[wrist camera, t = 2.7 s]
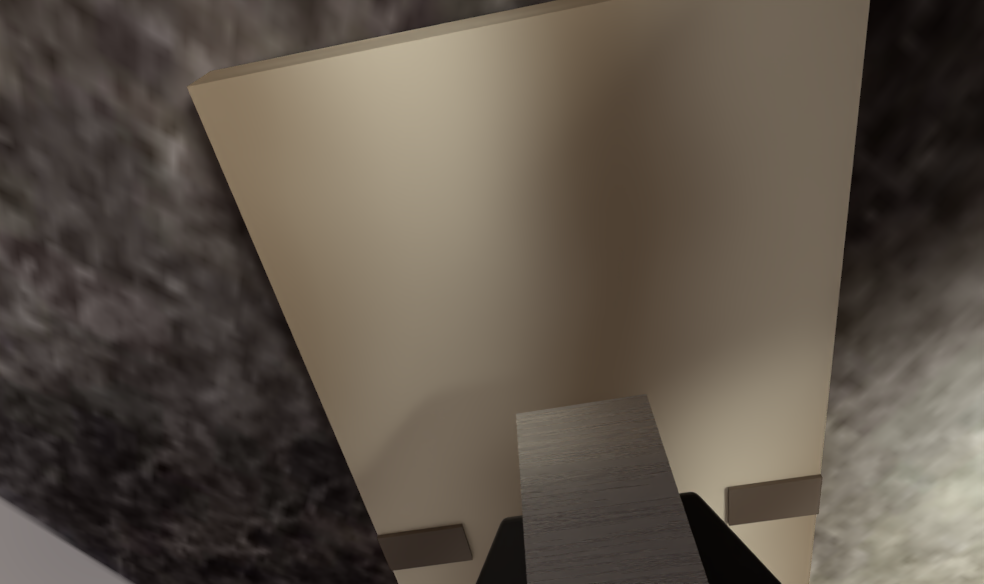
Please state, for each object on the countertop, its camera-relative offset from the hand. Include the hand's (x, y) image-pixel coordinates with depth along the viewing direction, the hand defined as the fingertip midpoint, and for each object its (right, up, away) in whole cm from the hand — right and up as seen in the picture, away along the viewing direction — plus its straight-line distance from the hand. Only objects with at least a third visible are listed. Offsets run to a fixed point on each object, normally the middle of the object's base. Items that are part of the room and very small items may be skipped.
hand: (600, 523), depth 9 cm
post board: (+1, -2, +7) cm, 7 cm away
